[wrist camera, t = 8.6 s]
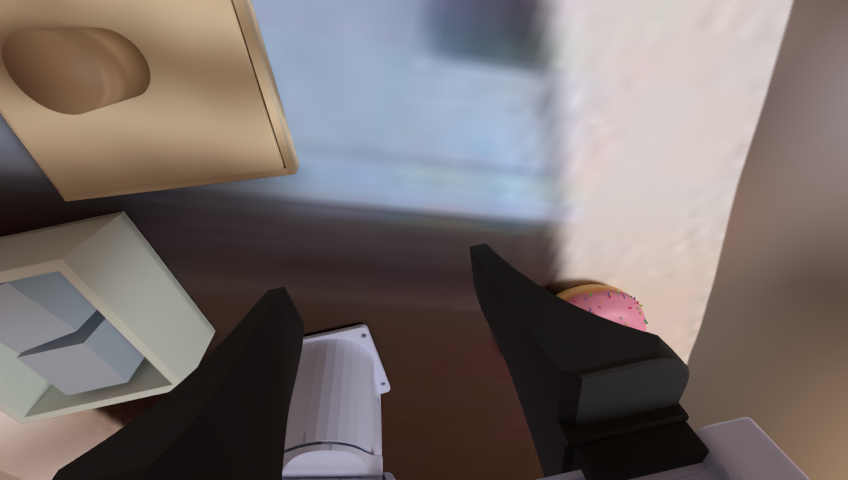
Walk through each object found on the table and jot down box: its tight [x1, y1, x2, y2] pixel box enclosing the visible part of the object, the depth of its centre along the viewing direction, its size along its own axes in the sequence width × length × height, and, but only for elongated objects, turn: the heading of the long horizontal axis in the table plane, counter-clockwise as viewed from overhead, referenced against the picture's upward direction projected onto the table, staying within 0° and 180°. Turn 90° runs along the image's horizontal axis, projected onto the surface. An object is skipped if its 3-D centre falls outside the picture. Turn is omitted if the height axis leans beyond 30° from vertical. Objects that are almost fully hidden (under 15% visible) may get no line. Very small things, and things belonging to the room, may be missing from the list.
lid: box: [0, 0, 299, 201], centre depth 14 cm, size 12×12×5 cm
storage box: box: [0, 211, 215, 424], centre depth 21 cm, size 11×11×5 cm
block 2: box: [16, 310, 145, 395], centre depth 23 cm, size 4×4×4 cm
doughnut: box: [556, 284, 648, 332], centre depth 30 cm, size 11×11×4 cm
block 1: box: [0, 271, 97, 353], centre depth 20 cm, size 4×4×4 cm
